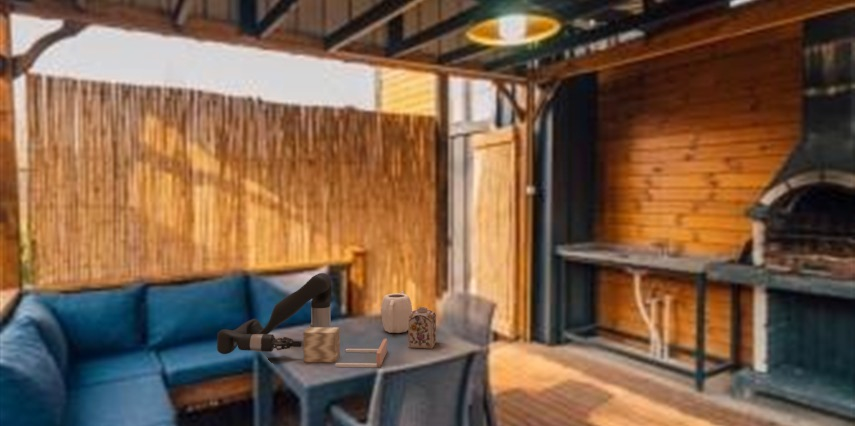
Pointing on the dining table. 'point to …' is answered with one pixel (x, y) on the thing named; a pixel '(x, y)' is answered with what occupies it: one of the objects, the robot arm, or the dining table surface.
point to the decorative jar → (422, 328)
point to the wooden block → (321, 344)
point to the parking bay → (379, 352)
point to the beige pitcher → (396, 312)
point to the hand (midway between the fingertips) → (301, 344)
